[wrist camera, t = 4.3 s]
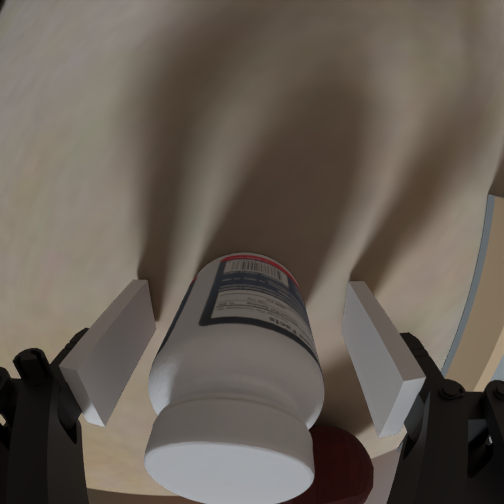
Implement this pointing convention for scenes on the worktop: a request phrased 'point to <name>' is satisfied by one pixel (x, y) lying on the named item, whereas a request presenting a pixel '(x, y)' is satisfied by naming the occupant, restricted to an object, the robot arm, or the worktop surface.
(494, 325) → the open tray
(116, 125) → the worktop surface
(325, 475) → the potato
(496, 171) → the worktop surface
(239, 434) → the pill bottle
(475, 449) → the robot arm
